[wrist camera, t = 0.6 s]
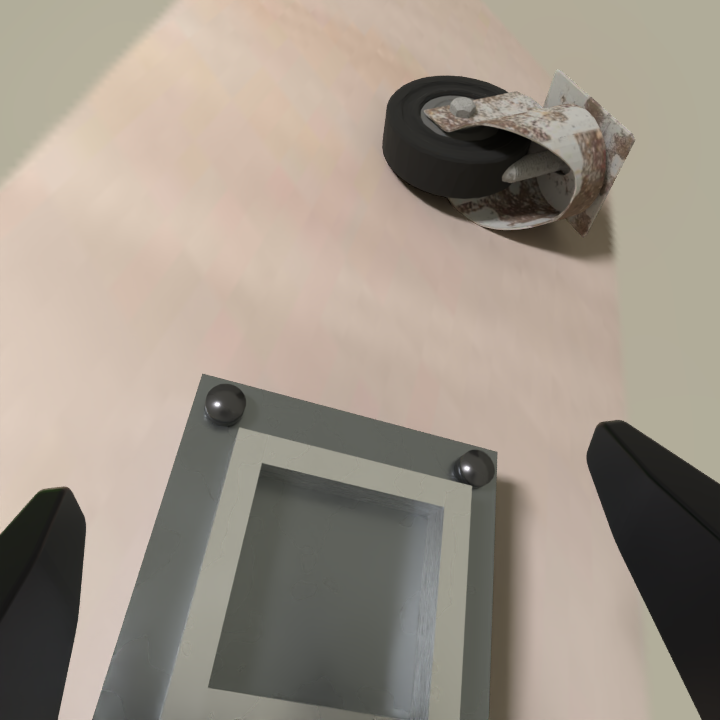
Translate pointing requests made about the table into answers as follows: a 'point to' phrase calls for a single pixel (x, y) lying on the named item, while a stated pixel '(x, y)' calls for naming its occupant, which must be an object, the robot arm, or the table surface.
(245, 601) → the grey metal socket plate
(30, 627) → the robot arm
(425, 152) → the caster wheel
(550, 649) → the table surface
